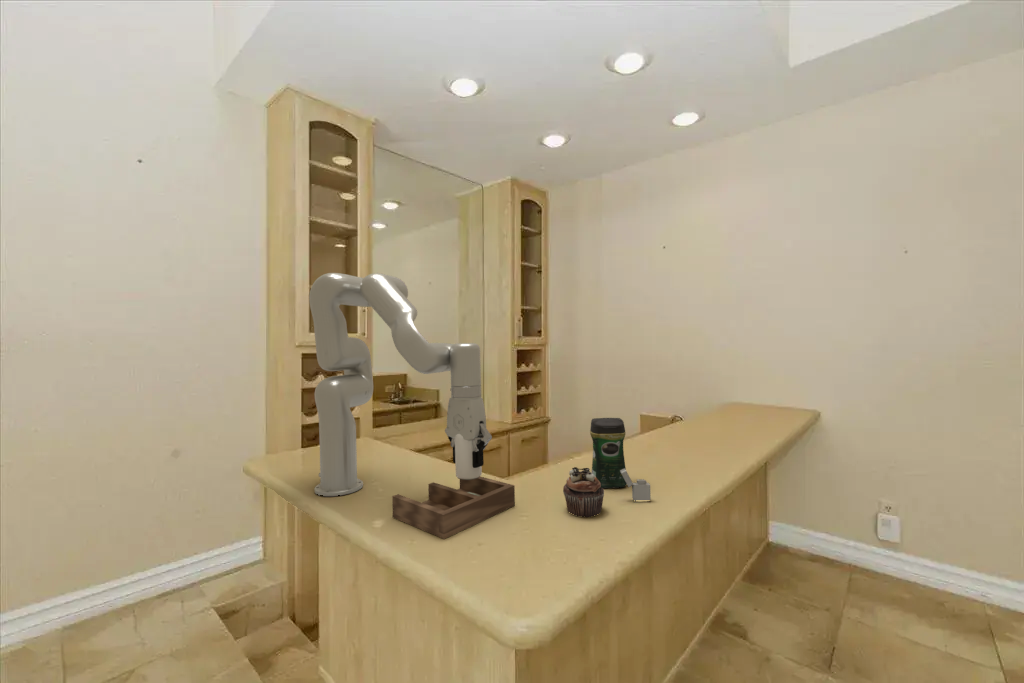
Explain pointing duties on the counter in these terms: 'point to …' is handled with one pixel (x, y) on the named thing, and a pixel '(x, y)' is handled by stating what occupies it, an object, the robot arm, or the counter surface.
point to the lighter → (637, 487)
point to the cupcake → (583, 493)
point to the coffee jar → (608, 451)
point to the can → (465, 459)
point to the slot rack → (455, 506)
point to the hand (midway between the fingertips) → (468, 463)
